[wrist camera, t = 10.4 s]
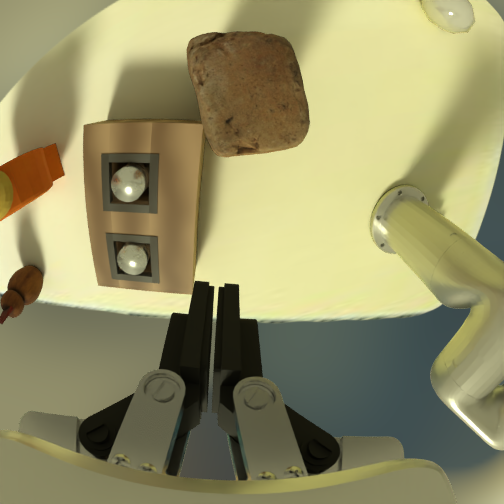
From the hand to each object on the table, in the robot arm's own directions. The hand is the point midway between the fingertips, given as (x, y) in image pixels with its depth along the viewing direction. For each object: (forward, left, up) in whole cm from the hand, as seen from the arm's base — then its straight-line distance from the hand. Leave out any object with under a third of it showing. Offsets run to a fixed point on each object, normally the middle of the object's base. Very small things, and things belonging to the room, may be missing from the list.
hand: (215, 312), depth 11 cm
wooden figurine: (+35, +22, -28) cm, 50 cm away
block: (-1, -10, -28) cm, 30 cm away
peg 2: (+10, +12, -27) cm, 32 cm away
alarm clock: (+29, +1, -28) cm, 41 cm away
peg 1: (+10, +2, -28) cm, 29 cm away
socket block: (+9, +6, -28) cm, 30 cm away
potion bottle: (-29, -38, -29) cm, 55 cm away
